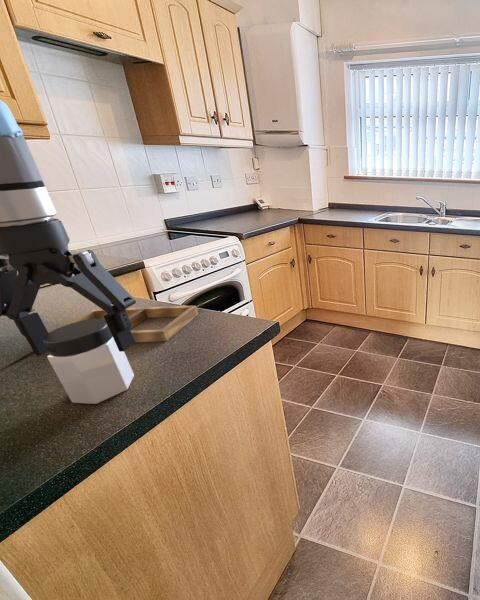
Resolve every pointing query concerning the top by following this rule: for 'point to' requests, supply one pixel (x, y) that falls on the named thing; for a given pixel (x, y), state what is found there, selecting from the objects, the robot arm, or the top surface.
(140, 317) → the organiser
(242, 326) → the top surface
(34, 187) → the robot arm
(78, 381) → the jar
